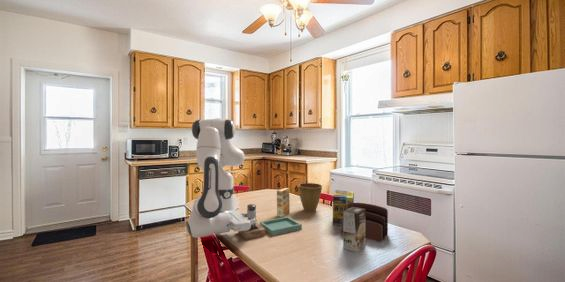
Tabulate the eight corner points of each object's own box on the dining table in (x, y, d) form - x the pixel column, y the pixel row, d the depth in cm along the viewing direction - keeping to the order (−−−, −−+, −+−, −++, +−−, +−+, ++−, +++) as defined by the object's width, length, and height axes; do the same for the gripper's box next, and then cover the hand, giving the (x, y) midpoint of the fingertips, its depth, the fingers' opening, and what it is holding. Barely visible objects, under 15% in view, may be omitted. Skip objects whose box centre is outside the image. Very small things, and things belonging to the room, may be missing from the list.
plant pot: (295, 212, 159) (295, 186, 159) (301, 206, 174) (301, 182, 173) (320, 214, 155) (320, 188, 154) (323, 208, 169) (323, 183, 169)
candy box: (282, 217, 151) (282, 191, 150) (276, 216, 153) (276, 190, 152) (289, 213, 159) (289, 188, 158) (283, 212, 161) (283, 187, 160)
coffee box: (357, 252, 107) (357, 213, 106) (342, 248, 111) (342, 210, 110) (365, 245, 114) (365, 208, 113) (351, 241, 118) (352, 206, 117)
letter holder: (348, 227, 136) (348, 200, 135) (387, 235, 124) (388, 206, 124) (340, 233, 128) (340, 204, 127) (382, 243, 116) (382, 211, 116)
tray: (259, 226, 136) (259, 221, 136) (287, 221, 144) (287, 216, 144) (272, 235, 124) (272, 230, 124) (301, 229, 132) (301, 224, 132)
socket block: (238, 232, 128) (238, 226, 128) (256, 228, 133) (256, 222, 133) (245, 239, 119) (245, 233, 119) (265, 235, 124) (265, 229, 124)
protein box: (332, 225, 138) (332, 196, 137) (335, 216, 153) (335, 190, 152) (352, 227, 135) (353, 197, 134) (353, 218, 150) (354, 191, 149)
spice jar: (246, 233, 127) (246, 204, 127) (253, 231, 129) (253, 203, 129) (249, 236, 124) (249, 207, 123) (257, 234, 126) (257, 205, 125)
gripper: (231, 222, 110) (261, 217, 117) (218, 210, 128) (244, 206, 135) (231, 237, 110) (261, 231, 117) (218, 222, 128) (244, 218, 135)
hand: (252, 217), depth 126 cm, fingers open, 8 cm apart
